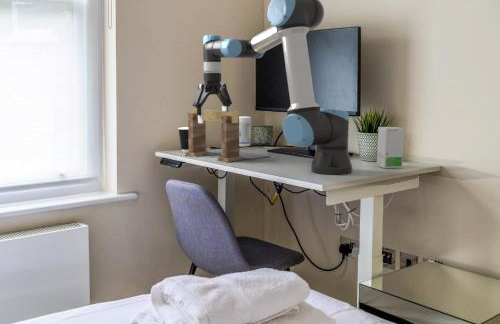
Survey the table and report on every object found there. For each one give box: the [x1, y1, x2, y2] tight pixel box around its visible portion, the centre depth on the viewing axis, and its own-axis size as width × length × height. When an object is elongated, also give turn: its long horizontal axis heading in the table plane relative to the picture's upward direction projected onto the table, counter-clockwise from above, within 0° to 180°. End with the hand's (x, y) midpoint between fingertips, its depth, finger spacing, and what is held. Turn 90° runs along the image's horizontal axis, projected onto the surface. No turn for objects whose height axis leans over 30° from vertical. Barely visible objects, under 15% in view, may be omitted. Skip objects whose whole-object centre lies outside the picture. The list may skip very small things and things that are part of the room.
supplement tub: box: [239, 115, 252, 148], centre depth 279 cm, size 10×10×15 cm
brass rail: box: [188, 108, 239, 123], centre depth 237 cm, size 28×4×4 cm, turn 45°
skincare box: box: [376, 126, 405, 169], centre depth 214 cm, size 8×7×16 cm
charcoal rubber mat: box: [207, 148, 271, 161], centre depth 248 cm, size 32×12×1 cm, turn 45°
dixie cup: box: [177, 126, 189, 153], centre depth 260 cm, size 8×8×11 cm
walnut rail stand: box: [184, 112, 244, 163], centre depth 238 cm, size 28×9×19 cm, turn 45°
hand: (213, 122), depth 237 cm, fingers open, 13 cm apart
